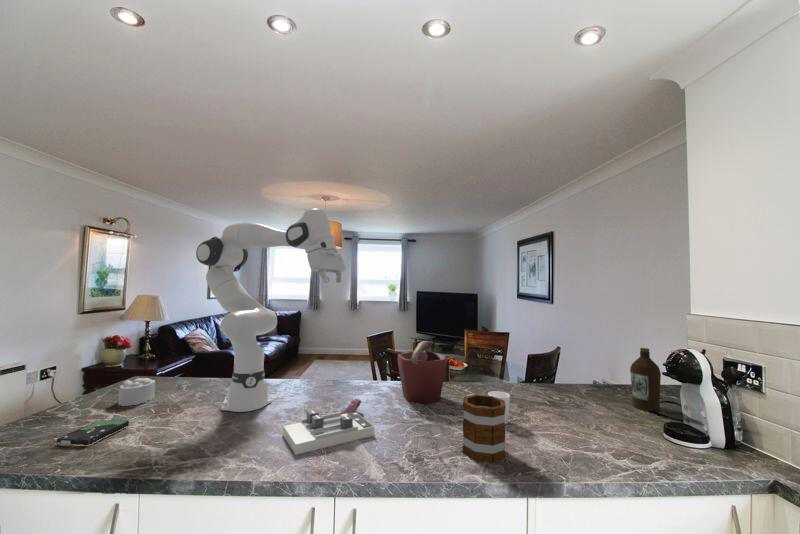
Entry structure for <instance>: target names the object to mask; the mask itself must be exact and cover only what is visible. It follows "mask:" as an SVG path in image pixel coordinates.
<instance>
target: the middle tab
mask: <svg viewBox="0 0 800 534" xmlns="http://www.w3.org/2000/svg"><path fill="white" fill-rule="evenodd" d="M322 415H323V414H322ZM322 415H321V414H319V415H315V416H312V425H311V427H312V428H313V429H317V428H322V427H323V425H324V417H323V416H322Z"/></svg>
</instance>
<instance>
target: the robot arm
mask: <svg viewBox="0 0 800 534" xmlns="http://www.w3.org/2000/svg"><path fill="white" fill-rule="evenodd" d="M273 247H275V248H276V247H292V248H295V249H300V250H305V253H306V254H307V256H306V257H307V262H308V264H309V268H310V269H311V271H312V272H318V274H319V276H320V278H321V280H322V282H323V284H327V283H330V277H329V276H327V273H335V276H336V278H335V282H336V283H337V284H341V283H342V282H343V279H342V276H343V275H342V274H343V273H344V272H346V268H347V267H346V264H345V261H344V259H343V256H342V254H341V253H339V252H338V250H337V246H336V243H335V238H334V236H333V235H332V227H331V223H330V220H329V218H328V215H327V213H326V211H324V210H323V209H320V208H308V209H306V210H305V211H304V212H303V215H302V216H301V217H300V218H299V220H297V221H296V222H295V223H293V224H291V225H290V226H288V227H287V229H286V230H281V229H277V228H273V227H272V226H271V227H270V226H267V225H264V224H261V223H257V222H239V223H233V224H230V225H227V226H226V227H225V228H224V229H223V231H222V235H221V237H218V236H213V237H211V238H209V239H207V240H204V241H202V242H201V243H200V244H198V246H197V248H196V252H195V254H196V255H195V256H196V259H197V260H198V262H199V263H200V264H202V265H204V266H208V267H211V268H209V270H208V271H207V272H206V274H205V279H206V283H207V285H208V287H209V290H210V291H211V293H212V295H213V296H214V297H215V299H216V300H217V301H218V304H219V305H220V306H221V308H222V309H223V310H224V311H225V312H228V313H227V314H225V315H224V316H223V318H222V319H221V322H220V329H221V332H222V334H223V336H225V338H227V339H228V340H229V341H230V343H231V346H232V349H233V353H234V354H233V355H234V356H233V357H234V359H233V360H234V362H233V364H234V365H233V371H232V375H231V378H232V379H231V380H232V382H231V384H230V385H229V387H228V388H225V395H226V396H225V397H224V400H223V402H222V405H221V407H220V409H221V411H230V412H234V413H235V412H236V413H237V412H238V413H242V412H251V411H256V410H259V409H262V408H264V407H265V406H266V405H269V404H271V403H272V402H273V400H272V399H271V398H270V397H269V383H268V382H267V381H266V380H265V373H266V372H265V369H264V365H265V364H264V361H265V350H264V349H263V348H262V347H261V346H259V344H258V341H257V336H262V335H265V334H268V333H269V332H272V331H273V330H275V328H276V327H277V325H278V316H277V314H276V313H275V312H274V310H271V309H269V308H267V307H265V306H264V305H262V304H261V303H259V302H258V301H257V300H256V299H255V298H253V296H251V295H250V294H249V293H248V292H247V291H246V288H244V287H243V285H242V283H240V281H239V279H237V277H236V276H235V272H239V271H240V270H241V268H242V267H244V266H245V264H246V262H247V261H248V257H249V253H248V250H256V249H258V250H259V249H266V248H273Z"/></svg>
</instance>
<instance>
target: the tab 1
mask: <svg viewBox="0 0 800 534" xmlns="http://www.w3.org/2000/svg"><path fill="white" fill-rule="evenodd" d="M315 415H320V414H319V411H317V409H313V410H312V409H311V410H307V411H306V418H307V422H308V424H310V423H312V416H315Z"/></svg>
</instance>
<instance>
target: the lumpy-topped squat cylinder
mask: <svg viewBox="0 0 800 534" xmlns="http://www.w3.org/2000/svg"><path fill="white" fill-rule="evenodd" d="M155 389H156V380H155V379H151V378H148V377H143V378H141V377H140V378H135V379H134V380H130V379H127V380H125V381H124V382H123V383H122V384H121V385H120V386H119V389H118V390H119V392H118V393H119V394H118V406H119V405H121V406H129V405H136V404H140V403H143V402H146V401H148V400H150V399H152V398H153V399H155V393H156V391H155ZM153 399H152V400H153ZM150 401H151V400H150ZM148 402H149V401H148ZM146 403H147V402H146ZM143 404H144V403H143ZM140 405H141V404H140ZM136 406H137V405H136Z"/></svg>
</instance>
